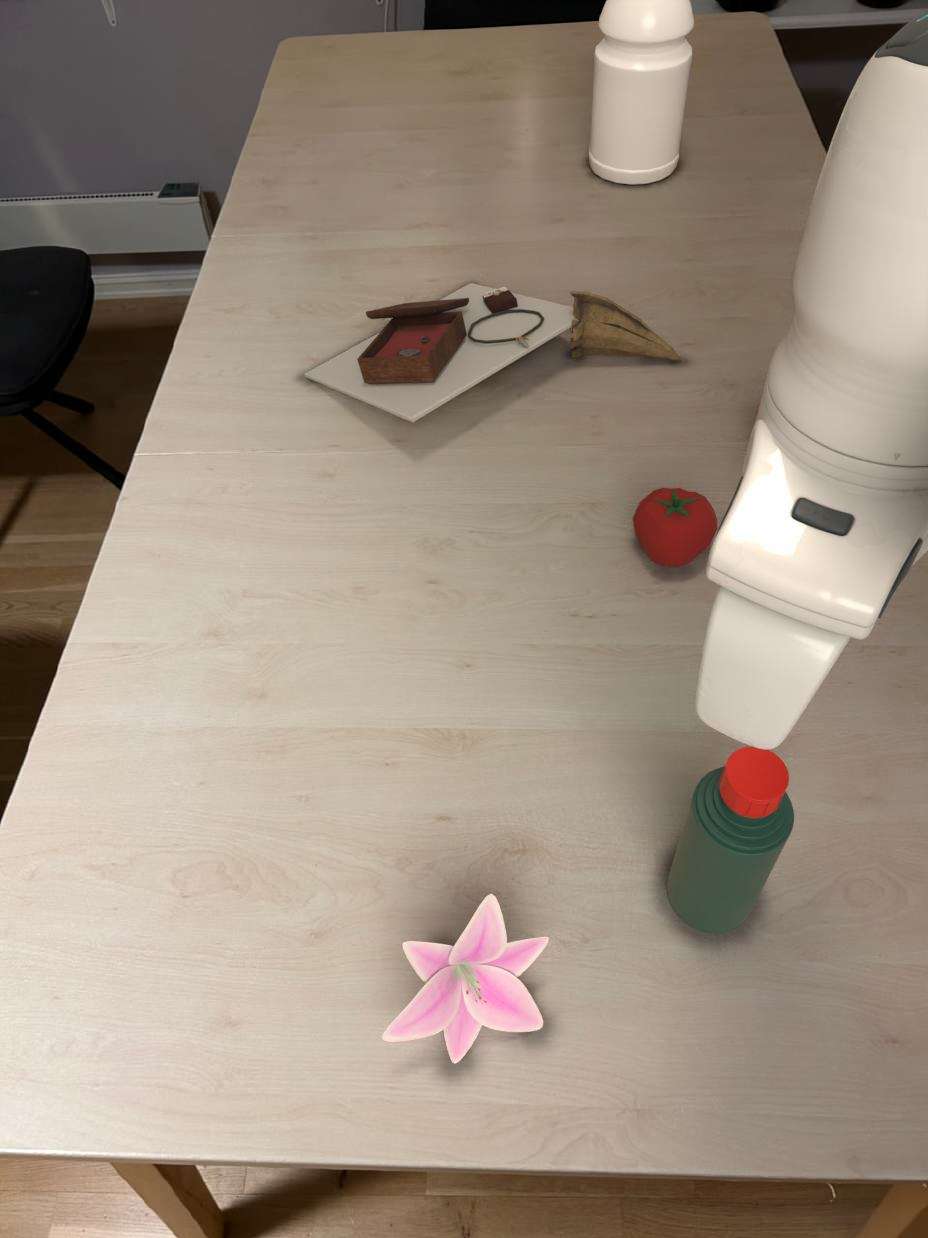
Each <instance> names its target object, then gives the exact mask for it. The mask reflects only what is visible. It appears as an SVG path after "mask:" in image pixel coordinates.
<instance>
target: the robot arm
mask: <svg viewBox="0 0 928 1238" xmlns="http://www.w3.org/2000/svg"><path fill="white" fill-rule="evenodd" d="M791 287H792V288H791V289H792V296H793V297H792V298H793V313H792V317H791V321H790V324H789V327H788V328H787V330H786V332H785V334H784V335H783V337H782V338H781V339H780V341H779V343H778V344H777V346H776V347H775V349H774V352H773V355H772V357H771V360H770V362H769V365H768V369H767V373H766V378H765V381H764V386H763V390H762V394H761V398H760V401H759V404H760V406H759V405H758V406H759V410H758V414H757V413H756V414H757V417H756V416H755V421H754V424H753V426H752V429H751V432H750V436H749V440H748V444H747V447H746V452H745V454H744V455H745V456H744V460H743V464H742V471H741V476H740V479H739V482H738V483H737V486H736V489H735V490H734V494H733V496H732V498H731V500H730V503H729V504H728V507H727V509H726V511H725V513H724V516H723V518H722V520H721V521H720V524H719V525H718V528H717V531H716V534H715V537H714V539H713V541H712V545H711V547H710V550H709V553H708V558H707V562H706V568H705V575H706V578H707V580H708V581H711V582H713V583H714V584H716V585H718V587H717V590H716V593H715V595H714V599H713V601H712V605H711V609H710V613H709V616H708V620H707V624H706V629H705V634H704V640H703V646H702V650H701V651H702V652H701V657H700V662H699V670H698V677H697V685H696V691H695V698H694V699H695V703H694V705H695V712H696V714H697V717H698V718H699V719H700V721H702V722H703V723H704V724H705V725H707V726H708V727H710V728H711V729H713V730H715V731H716V732H718V733H721V734H723V735H725V736H727V737H728V738H730V739H733V740H735V741H737V742H739V743H742V744H745V745H747V746H749V747H750V746H752V747H755V748H759V749H765V750H769V751H771V750H774V749H776V748H778V747H779V746H781V744H782V743H783V742H784V741H785V740H786V739H787V737H788V736H789V735H790V733H791V731H792V730H793V729H794V727H795V725H796V724H797V723H798V721H799V720H800V718H801V716H802V715H803V714H804V713H805V710H806V709H807V708H808V706H809V704H810V702H811V701H812V700H813V698H814V697H815V695H816V694H817V692H818V690H819V689H820V687H821V686H822V684H823V682H824V681H825V680H826V678H827V676H828V675H829V673H830V671H831V670H832V668H833V667H834V665H835V664H836V663H837V661H838V659H839V657H840V656H841V654H842V652H843V651H844V649H845V648H846V646H847V644H849V641H850V640H851V638H852V639H856V640H864V639H866V638H868V637H869V636H870V634H871V632H872V631H873V628H874V626H875V624H876V622H877V620H878V619H881V618H882V615H883V613H884V612H885V610H886V608H887V607H888V605H889V602H890V601H891V599H892V597H893V596H894V594H895V592H896V591H897V589H898V588H899V587H900V585H901V583H903V581H904V579H905V578H906V577H907V575H908V574H909V571H910V570H911V568H912V567H914V565H916V564H917V562H918V561H919V560H920V559H921V558H922V557H923V556H924V555H925V554H926V553H927V552H928V9H927V10H926V11H924V12H922V13H920V14H919V15H917V16H916V17H914V18H913V19H912V20H910V21H909V22H908V23H906V24H905V25H904V26H903V27H901V28H900V29H899V30H898V31H897V32H896V33H895V34H894V35H892V36H891V37H890V38H888V40H886V41H885V42H884V43H883V44H882V45H881V46H879V48H878V49H877V50H876V51H875V52H874V54H873V55H872V56H871V57H870V58H869V60H868V62H867V63H866V64H865V66H864V67H863V69H862V71H861V72H860V74H859V75H858V78H857V79H856V82H855V84H854V85H853V88H852V90H851V92H850V94H849V95H848V98H847V100H846V102H845V105H844V107H843V110H842V112H841V115H840V116H839V120H838V122H837V125H836V128H835V130H834V132H833V136H832V138H831V140H830V145H829V147H828V150H827V152H826V156H825V158H824V162H823V164H822V168H821V171H820V174H819V176H818V180H817V183H816V187H815V190H814V193H813V196H812V199H811V203H810V206H809V209H808V213H807V215H806V220H805V223H804V227H803V231H802V235H801V237H800V242H799V245H798V250H797V253H796V257H795V261H794V265H793V271H792V285H791Z"/></svg>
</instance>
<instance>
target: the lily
mask: <svg viewBox="0 0 928 1238" xmlns="http://www.w3.org/2000/svg"><path fill="white" fill-rule="evenodd" d="M549 940H550V938H549V937H548V936H538V937H531V938H526V939H519V940H513V941H510V942H508V935H507V930H506V925H505V920H504V915H503V913H502V908H501V906H500V903H499V901H498V899H497V897H496V895H494V894H493V893H490V894H488V895H487V896H485V897H484V899H483V900H482V902H481V903H480V904H479V906H478V907H477V909H476V911H475V912H474V914H472V917H471V919H470V921H469V922H468V924H467V925H466V927H465V929H464V930H463V932H462V933H461V934H460V936H459V938H458V939H457V940H456V942H455V944H454V945H451V944H446V943H445V944H444V943H437V942H429V941H418V940H417V941H416V940H407V941H404V942H402V949H403V952H404V955H405V957H406V958H407V960H408V962H409V964H410V965H411V967H412V969H413V970H414V971H415V973H416V974H417V976H418V977H419V978H420V979H421V981H422V982H423V983H424V985H423V987H422V988H420V990H419V991H418V992H417V993H416V995H415V996H414V997H413V998H412V1000H411V1001H410V1002H409V1003H408V1004H407V1006H406V1007H404V1009H403V1010H402V1011H401V1012H400V1013H399V1014H398V1015H397V1017H395V1018H394V1019H393V1021H392V1022H391V1023H389V1025H388V1026H387V1028H386V1029H385V1031H384V1032H383V1033H382V1036H381V1040H382V1041H384V1042H388V1043H392V1042H393V1043H398V1042H407V1041H412V1040H413V1041H414V1040H419V1039H424V1038H427V1037H430V1036H434V1035H437V1034H438V1033H440V1032H442V1031H443V1037H444V1042H445V1045H446V1049H447V1053H448V1055H449V1056H448V1057H449V1058H450V1061H451V1063H452V1064H455V1065H456V1064H457V1063H459V1062H461V1060H462V1059H463V1058H464V1057H465V1055H466V1054H467V1053H468V1051H469V1050H470V1048H471V1047H472V1045H473V1044H474V1042H475V1040H476V1039H477V1037H478V1035H479V1033H480V1031H481V1029H482V1027H485V1028H488V1029H491V1030H493V1031H499V1032H508V1033H509V1032H510V1033H529V1032H536V1031H539V1030H541V1029H542V1028H543V1027H544V1019H543V1015H542V1013H541V1012H540V1009H539V1007H538V1005H537V1003H536V1001H535V1000H534V999H533V997H532V995H531V993H530V992H529V990H528V989H527V987H526V986H525V984H524V983H523V982H522V981H521V980H520V979H519V978H518V977H520V976H521V975H522V974H523V973H524V972H525V971H526V970H527V969H528V968H530V966H531V965H532V964H533V963H534V962H535V961H536V960H537V958H538V957H539V956H540V954H541V953H542V952H543V951H544V949H545V948H546V946H547V945H548V944H549Z"/></svg>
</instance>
